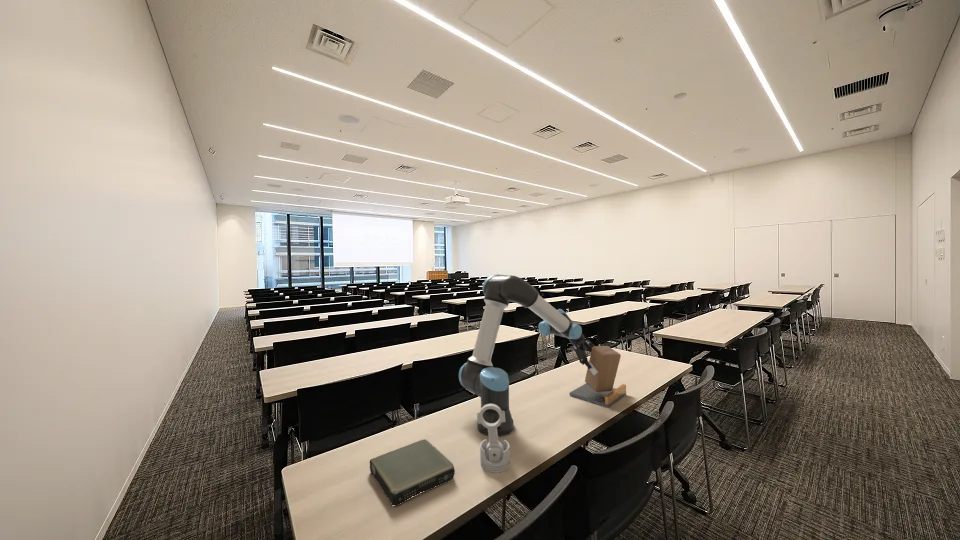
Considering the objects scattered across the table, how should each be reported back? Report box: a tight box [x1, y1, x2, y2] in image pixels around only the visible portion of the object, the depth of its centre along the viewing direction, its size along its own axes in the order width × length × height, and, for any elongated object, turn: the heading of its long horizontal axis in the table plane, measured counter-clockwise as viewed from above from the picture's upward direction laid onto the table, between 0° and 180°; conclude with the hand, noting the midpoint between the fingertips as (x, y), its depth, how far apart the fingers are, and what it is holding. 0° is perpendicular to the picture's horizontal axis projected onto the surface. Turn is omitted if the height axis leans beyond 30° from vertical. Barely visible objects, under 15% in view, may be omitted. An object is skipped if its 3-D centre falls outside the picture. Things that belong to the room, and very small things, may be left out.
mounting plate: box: [568, 382, 627, 409], centre depth 168 cm, size 20×20×5 cm
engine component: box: [476, 404, 511, 473], centre depth 115 cm, size 11×20×10 cm
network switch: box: [369, 438, 456, 506], centre depth 110 cm, size 23×24×5 cm
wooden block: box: [584, 345, 622, 392], centre depth 166 cm, size 10×10×20 cm
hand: (602, 370), depth 166 cm, fingers closed on wooden block, 12 cm apart
